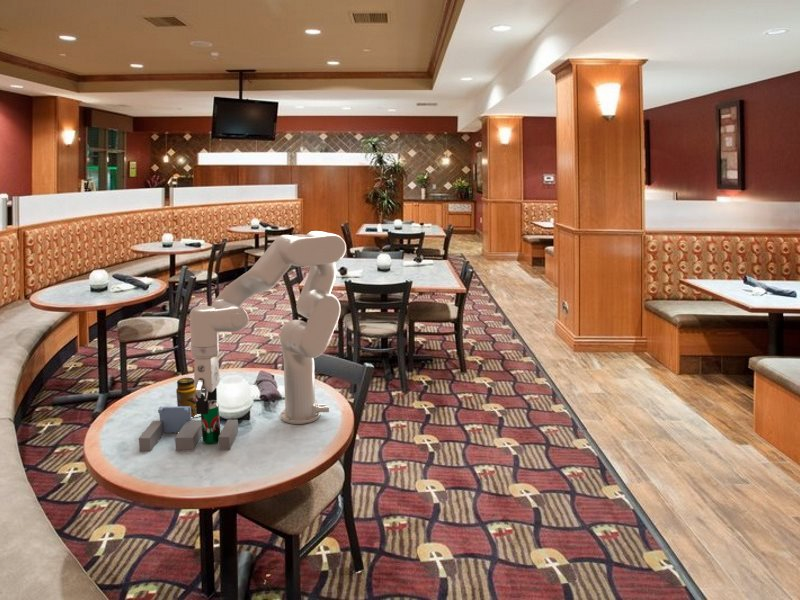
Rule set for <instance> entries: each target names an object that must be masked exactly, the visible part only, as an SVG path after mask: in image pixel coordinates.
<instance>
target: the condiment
mask: <svg viewBox="0 0 800 600" xmlns="http://www.w3.org/2000/svg"><path fill="white" fill-rule="evenodd" d="M176 384H177V387H176V402H177V403H176V404H177V407H180V406H191V417H194V416H195V415H197V413H196V395H197V394H196V391H195V385H194V377H181V378H179V379H178V380H177V382H176Z"/></svg>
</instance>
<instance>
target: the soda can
mask: <svg viewBox="0 0 800 600" xmlns="http://www.w3.org/2000/svg"><path fill="white" fill-rule="evenodd" d="M219 405H220V404H219V403H218V400H217V401H215V400H208V410H209V413H208V414H200V415H201V417H200V420H201V424H202V438H201V440H202V442H203V443H205V444H207V445H215V444H217V443H219V442H218V437H219V435H220V433H221V425H220V424H221V423H220V406H219Z"/></svg>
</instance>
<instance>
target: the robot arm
mask: <svg viewBox="0 0 800 600" xmlns="http://www.w3.org/2000/svg"><path fill="white" fill-rule="evenodd" d="M346 252H347V244H346V242H345V240H344V239H343V238H342V237H341V236H340V235H338V234H335V233H331V232H325V231H319V230H314V231H313V230H312V231H310V232H308V233H307V234H306V235H305V236H304V237H302V236H301V237H300V236H295V235H290V234H282V235H280V236H278V237H276V238H275V240H274V241H273V242H272V243H271V244H270V246H268V248H267V249H266V250H265V252H263V254H262V255H261V256H260V257H259V259H258V260H257V261H256V262H255V263H254V264H253V265H252V266H251V268H250V269H249V270H248V271H246V272H245V273H242V275H240V276H238V277H237V278H236V279H234V280H233V281H231V282H230V283H229V284H228V285H227V286H226V287H225V288H224V289H223V290H222V291H221V292H220V293H219V295H218V296H217V297H216V298H215V299H214V301H213V302H212V303H211V305H200V306H195V307H193V308H192V309H191V310H190V311H189V321H190V323H189V324H190V326H189V327H190V351H191V357H192V358H194V362H193V363H194V364H193V366H194V369H193V371H194V373H193V379H194V385H195V391H196V394H197V395H196V413H197V414H200V415H201V414H208V413H209V410H208V400H215V401H217V402H218V395H217V394H218V393H217V390H218V389H217V387H218V386H219V383H220V379H221V378H220V365H219V357H218V356H220V336H219V335H220V333H221V332H223V333H225V332H226V333H227V332H228V333H236V332H239V331H242V330H243V329H245V328H246V326H247V325H248V323H249V314H248V312H247V311H246V310H245V309H244V308H243V307H242V305H243V304H244V303H245V302H246V301H247V300H249V299H250V298H251V297H253V296H255V295H258V294H260V293H264V292H267V291H270V290H272V289H273V288H275V286H276V285H277V284H278V283H279V281H280V280H281V279H282V277H284V275H285V274H286V273H287V272H288V270H289V269H291V267H292V266H294V267H309V271H308V275H307V277H306V280H305V282H304V285H303V287H302V289H301V291H300V294H299V297H298V299H297V303H296V310H297V312H298V314H299V315H301V316H303V317H304V318H306V319H308V320H307V322H306V321H304V320H300V319H293V320H289V321H287V322H286V323H284V325H282V327H281V330H280V334H279V340H280V347H281V351H282V358H283V359H282V360H283V376H284V377H283V379H284V381H283V383H284V384H283V385H284V407H285V408H284V409H283V410H282V411H281V412H280V419H281V420H282V422H285V423H287V424H292V425H304V424H309V423H312V422H315V421H317V420H318V419H319V418H320V417H321V413H330V406H328V405H327V404H326V403H322V404H319V403H318V399H316V386H315V382H316V381H315V358H319V357H321V355H323V354H324V352H325V351H326V349H327V348H328V346H329V343H330V341H331V339H332V336H333V334H334V331H335V329H336V327H337V325H338V322H339V319H340V316H341V303H340V301H339V299H338V298H337V296H335V295H334V294H332V293H331V292H332V290H333V287H334V284H335V282H336V277H337V265H336V263H337V262H339V261H340V260H341V259H343V258H344V256H345V254H346Z"/></svg>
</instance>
